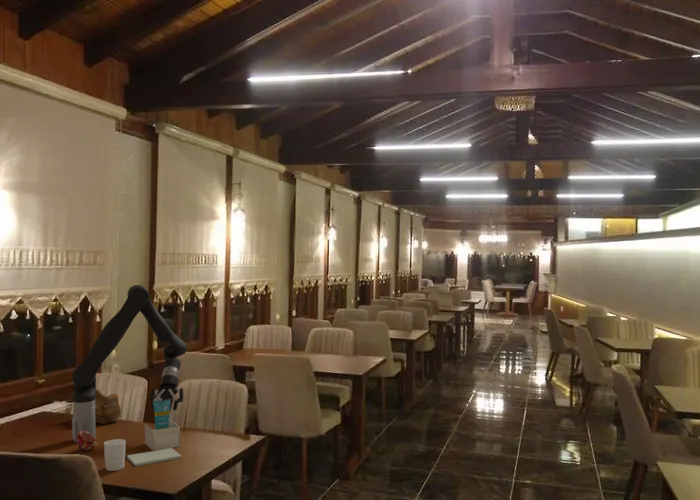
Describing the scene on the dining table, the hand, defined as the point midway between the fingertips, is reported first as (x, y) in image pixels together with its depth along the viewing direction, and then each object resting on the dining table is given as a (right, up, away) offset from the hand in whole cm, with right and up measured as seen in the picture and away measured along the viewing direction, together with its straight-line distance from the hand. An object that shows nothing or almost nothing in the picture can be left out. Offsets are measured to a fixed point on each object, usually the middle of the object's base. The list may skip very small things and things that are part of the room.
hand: (164, 410), depth 276 cm
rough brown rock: (-46, -16, +37) cm, 61 cm away
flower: (-30, -15, -9) cm, 34 cm away
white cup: (-9, -14, -34) cm, 38 cm away
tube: (0, -14, -4) cm, 15 cm away
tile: (+2, -14, -22) cm, 26 cm away
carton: (0, -14, -4) cm, 15 cm away
